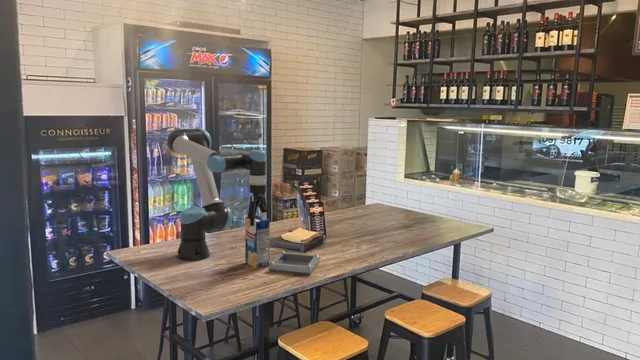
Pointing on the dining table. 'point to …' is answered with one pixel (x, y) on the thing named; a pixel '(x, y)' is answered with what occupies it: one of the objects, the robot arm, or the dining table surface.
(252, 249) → the beverage box
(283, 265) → the socket
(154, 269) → the dining table surface
